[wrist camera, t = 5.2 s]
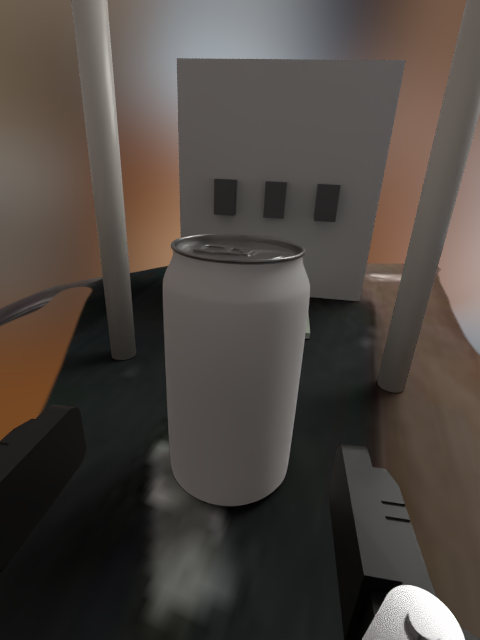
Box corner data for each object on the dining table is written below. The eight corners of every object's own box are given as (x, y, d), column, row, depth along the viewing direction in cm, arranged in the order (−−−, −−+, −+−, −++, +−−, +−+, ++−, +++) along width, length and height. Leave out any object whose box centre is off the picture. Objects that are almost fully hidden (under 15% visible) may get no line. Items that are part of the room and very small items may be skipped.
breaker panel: (362, 306, 43) (411, 54, 33) (177, 289, 46) (170, 52, 36) (353, 289, 50) (392, 73, 40) (191, 276, 53) (189, 71, 43)
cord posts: (407, 394, 26) (539, -79, 16) (107, 358, 29) (56, -62, 19) (400, 379, 28) (514, -53, 18) (118, 347, 31) (78, -41, 21)
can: (276, 529, 16) (308, 271, 11) (147, 492, 17) (127, 251, 12) (294, 435, 21) (320, 239, 17) (197, 413, 23) (196, 228, 18)
